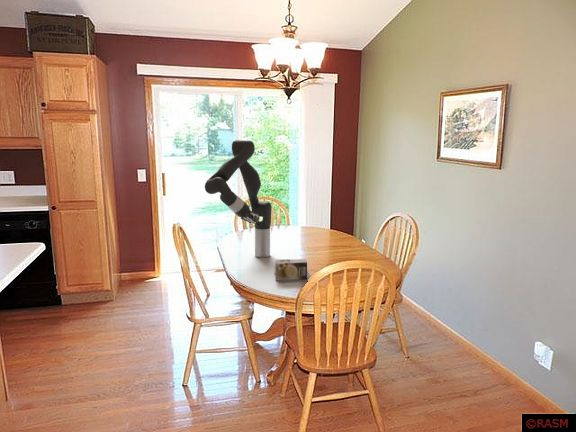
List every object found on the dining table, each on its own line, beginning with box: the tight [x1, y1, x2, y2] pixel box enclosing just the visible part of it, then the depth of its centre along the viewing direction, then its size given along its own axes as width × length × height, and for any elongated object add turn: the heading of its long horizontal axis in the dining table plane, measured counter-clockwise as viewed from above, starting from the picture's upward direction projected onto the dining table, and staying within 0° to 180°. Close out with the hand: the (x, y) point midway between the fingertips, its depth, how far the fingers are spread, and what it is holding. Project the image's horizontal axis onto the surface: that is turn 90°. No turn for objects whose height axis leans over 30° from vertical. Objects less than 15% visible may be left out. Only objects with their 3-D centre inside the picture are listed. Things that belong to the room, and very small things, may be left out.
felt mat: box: [274, 270, 312, 284], centre depth 214 cm, size 14×18×1 cm
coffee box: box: [274, 258, 308, 281], centre depth 211 cm, size 9×6×16 cm
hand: (260, 225), depth 216 cm, fingers closed
